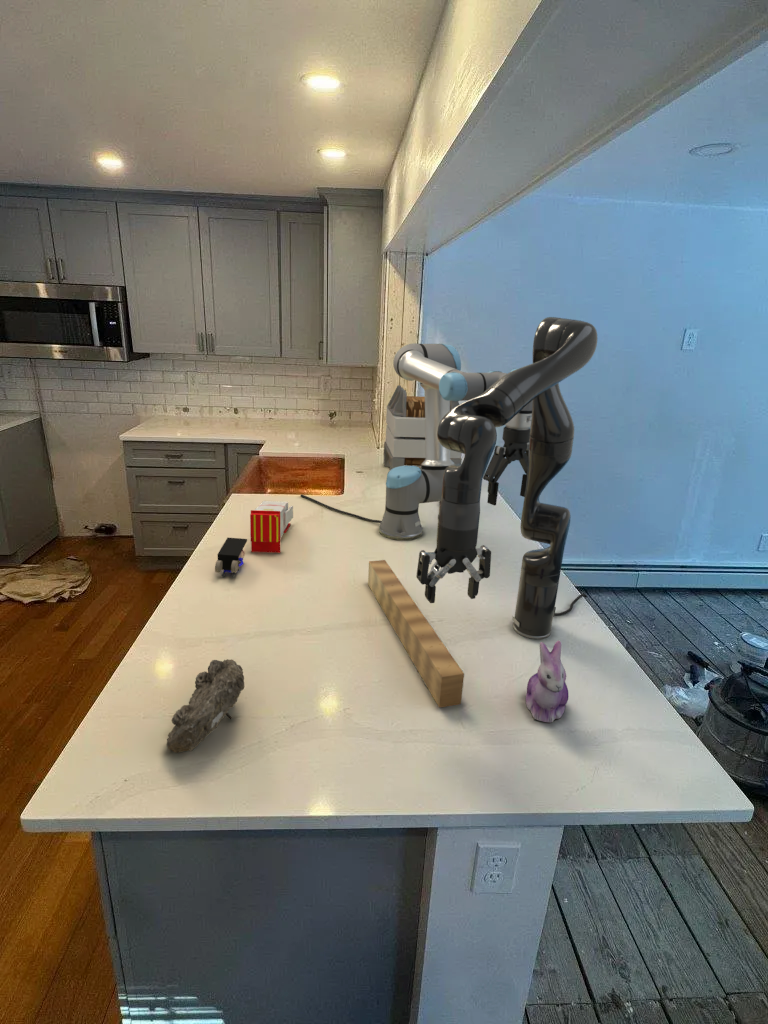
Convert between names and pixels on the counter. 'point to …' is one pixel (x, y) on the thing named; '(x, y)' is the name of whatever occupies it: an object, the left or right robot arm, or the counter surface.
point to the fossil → (206, 705)
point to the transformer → (408, 431)
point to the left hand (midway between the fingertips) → (508, 500)
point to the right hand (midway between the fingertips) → (451, 599)
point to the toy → (269, 525)
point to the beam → (417, 636)
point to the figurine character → (230, 556)
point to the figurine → (548, 686)
